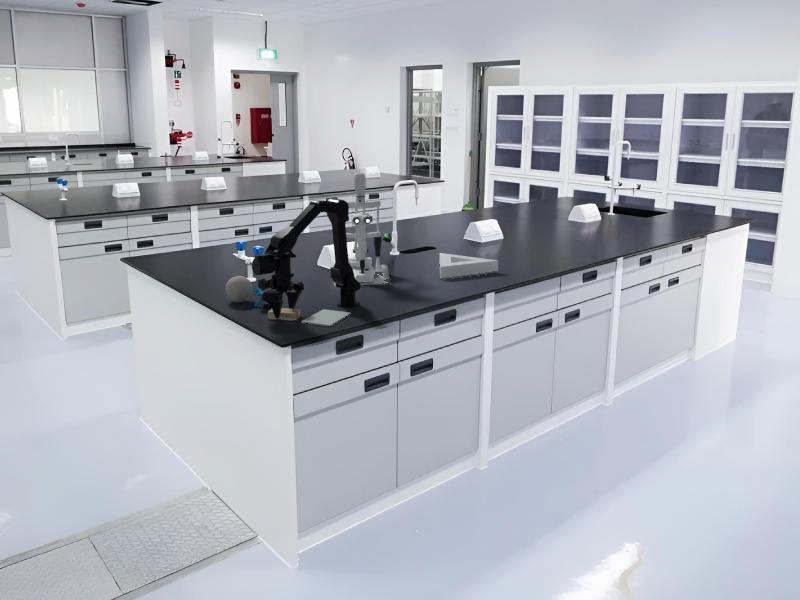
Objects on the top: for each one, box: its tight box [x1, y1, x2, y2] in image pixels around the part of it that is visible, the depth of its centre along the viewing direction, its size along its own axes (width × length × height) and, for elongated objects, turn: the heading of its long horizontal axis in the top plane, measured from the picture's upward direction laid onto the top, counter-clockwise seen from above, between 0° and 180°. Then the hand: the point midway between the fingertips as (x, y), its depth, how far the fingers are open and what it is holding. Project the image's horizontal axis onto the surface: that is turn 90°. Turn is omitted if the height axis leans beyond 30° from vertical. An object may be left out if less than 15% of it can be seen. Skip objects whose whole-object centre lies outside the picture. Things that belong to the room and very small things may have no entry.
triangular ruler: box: [438, 252, 499, 279], centre depth 313 cm, size 30×26×6 cm
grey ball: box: [225, 275, 254, 303], centre depth 261 cm, size 10×10×10 cm
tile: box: [267, 307, 301, 321], centre depth 243 cm, size 5×10×3 cm, turn 80°
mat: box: [301, 308, 352, 328], centre depth 243 cm, size 16×11×1 cm
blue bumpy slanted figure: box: [253, 286, 270, 308], centre depth 256 cm, size 11×6×10 cm
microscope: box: [332, 172, 390, 288], centre depth 294 cm, size 24×27×45 cm
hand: (284, 314), depth 243 cm, fingers open, 9 cm apart
